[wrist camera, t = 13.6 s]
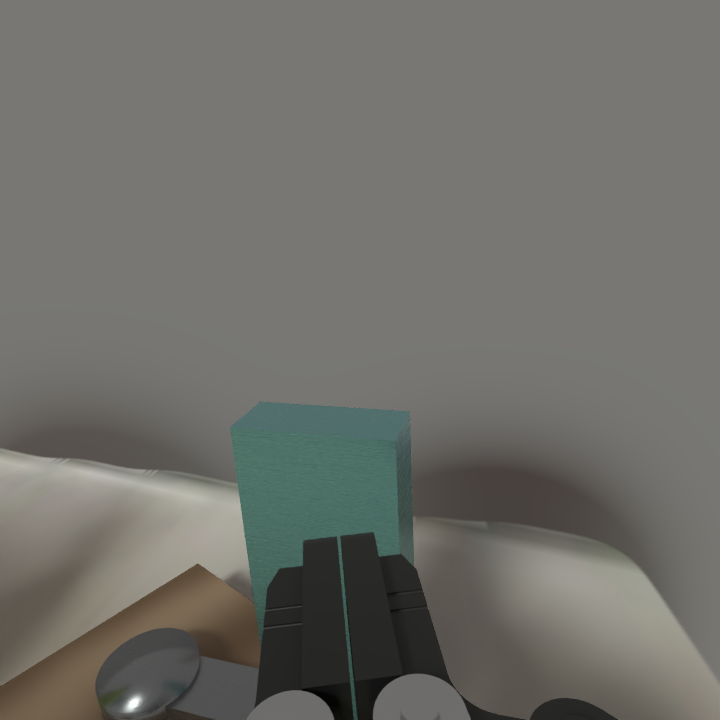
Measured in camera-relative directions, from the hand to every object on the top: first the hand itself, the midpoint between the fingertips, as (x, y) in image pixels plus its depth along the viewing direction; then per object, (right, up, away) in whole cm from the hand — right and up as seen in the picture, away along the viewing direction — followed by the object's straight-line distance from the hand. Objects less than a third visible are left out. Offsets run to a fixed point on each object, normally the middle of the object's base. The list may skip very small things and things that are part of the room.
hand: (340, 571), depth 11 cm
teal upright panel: (-4, -10, +10) cm, 14 cm away
